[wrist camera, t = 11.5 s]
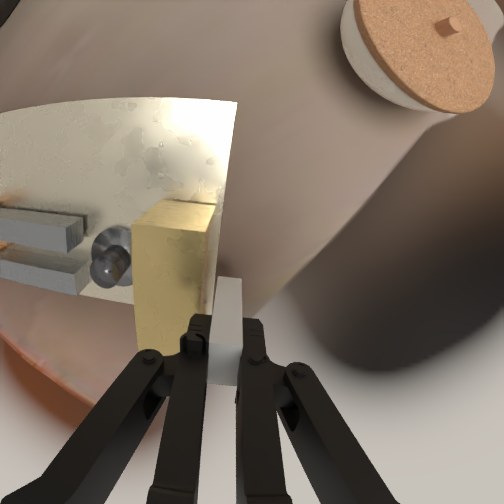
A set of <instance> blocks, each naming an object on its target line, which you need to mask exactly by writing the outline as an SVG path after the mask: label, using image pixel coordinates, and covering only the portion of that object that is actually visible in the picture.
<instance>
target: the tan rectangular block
mask: <svg viewBox="0 0 504 504" xmlns="http://www.w3.org/2000/svg"><path fill="white" fill-rule="evenodd" d="M214 215H215V206H214V205H205V204H196V203H186V202H177V201H166V200H161V201H159V202H158V203H157V204H155V205H154V206H153V207H152V208H150V209H149V210H148V211H147V212H145V213H144V214H143V215H142V216H140V217H139V218H138V219H137V220H136V221H134V222H133V223H132V279H133V298H134V312H135V323H136V334H137V343H138V352H139V351H141V350H144V349H154V350H157V351H159V352H160V353H161V354H162V355H163V356H169V355H174V354H177V353H178V352H180V337H181V336H182V335H183V334H184V333H187V330H188V325H189V321H190V318H191V317H192V316H193V315H194V314H195V313H197V314H206V313H204V312H203V302H204V288H205V276H206V264H207V252H208V241H209V233H210V230H211V227H212V224H213V221H214Z"/></svg>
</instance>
